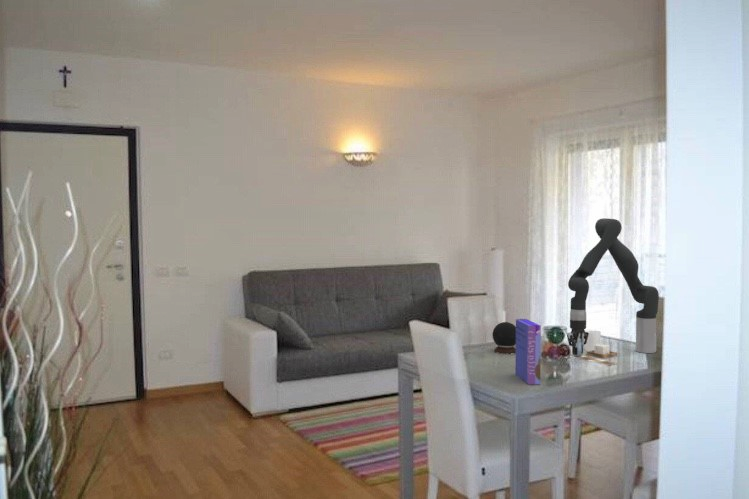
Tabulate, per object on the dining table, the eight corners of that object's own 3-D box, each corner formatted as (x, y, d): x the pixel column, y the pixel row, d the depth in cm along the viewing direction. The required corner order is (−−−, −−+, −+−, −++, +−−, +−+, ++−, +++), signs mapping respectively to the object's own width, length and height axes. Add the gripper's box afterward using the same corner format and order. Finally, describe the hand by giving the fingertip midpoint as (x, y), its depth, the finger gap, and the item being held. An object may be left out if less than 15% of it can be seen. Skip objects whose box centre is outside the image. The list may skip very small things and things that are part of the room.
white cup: (583, 352, 314) (583, 332, 314) (584, 349, 322) (584, 329, 321) (600, 353, 311) (600, 333, 311) (600, 350, 319) (601, 330, 318)
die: (600, 354, 307) (600, 343, 306) (609, 355, 302) (609, 345, 302) (593, 355, 304) (594, 345, 304) (603, 357, 300) (603, 346, 299)
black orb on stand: (524, 352, 314) (524, 322, 313) (506, 355, 306) (506, 325, 306) (505, 348, 325) (505, 319, 324) (486, 351, 317) (487, 321, 316)
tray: (599, 353, 310) (599, 349, 310) (617, 357, 302) (617, 352, 302) (586, 356, 304) (586, 351, 304) (604, 359, 296) (604, 355, 296)
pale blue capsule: (577, 354, 303) (577, 335, 303) (583, 356, 300) (582, 336, 300) (572, 355, 302) (571, 336, 302) (577, 356, 299) (577, 337, 298)
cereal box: (540, 384, 251) (540, 325, 250) (528, 385, 250) (529, 325, 249) (526, 374, 268) (526, 318, 267) (515, 374, 268) (515, 318, 267)
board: (577, 355, 305) (577, 354, 305) (617, 364, 287) (617, 362, 287) (568, 357, 301) (568, 356, 301) (607, 366, 283) (607, 364, 283)
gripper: (580, 316, 307) (580, 351, 308) (562, 319, 299) (561, 354, 300) (593, 318, 301) (593, 353, 302) (575, 321, 293) (574, 357, 294)
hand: (577, 353), depth 301 cm, fingers closed on pale blue capsule, 3 cm apart
